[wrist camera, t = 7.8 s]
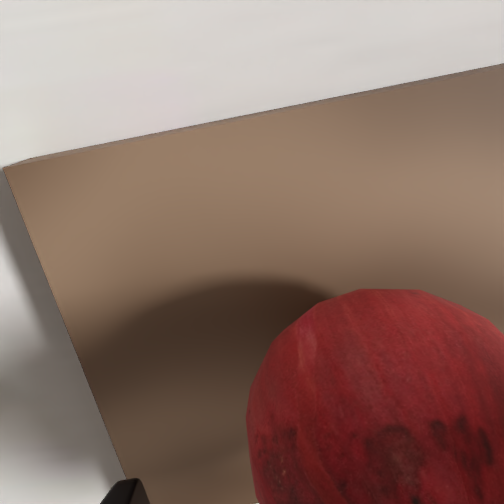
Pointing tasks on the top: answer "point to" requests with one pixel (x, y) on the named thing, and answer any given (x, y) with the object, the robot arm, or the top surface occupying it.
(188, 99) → the top surface
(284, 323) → the walnut board
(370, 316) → the onion
